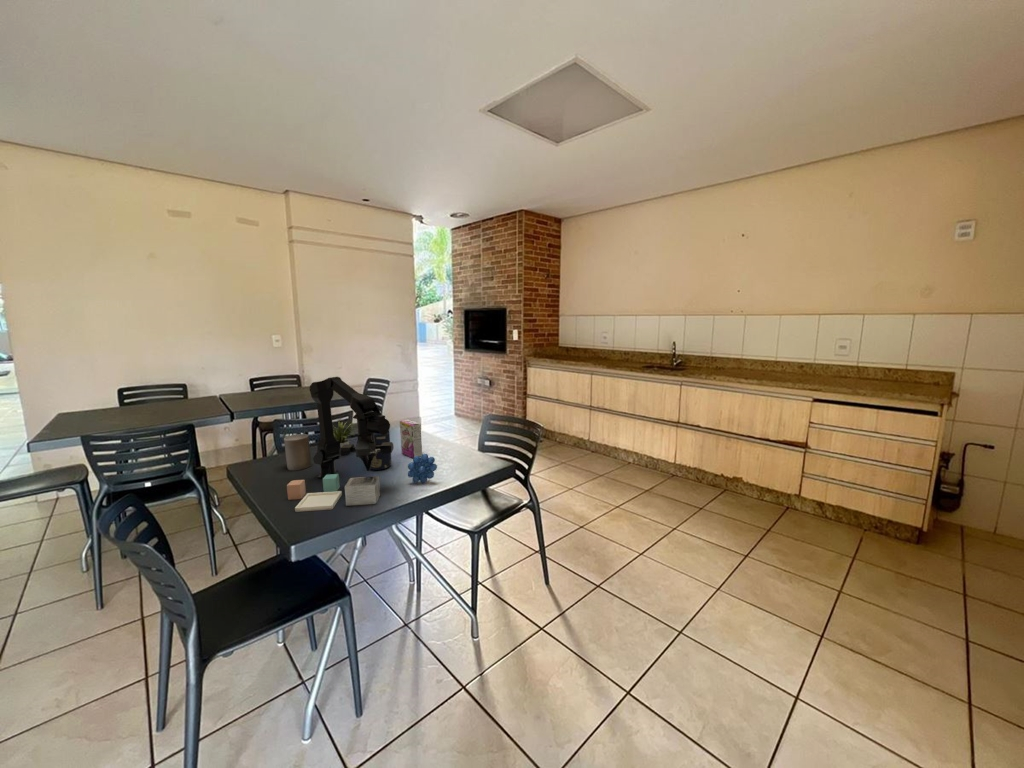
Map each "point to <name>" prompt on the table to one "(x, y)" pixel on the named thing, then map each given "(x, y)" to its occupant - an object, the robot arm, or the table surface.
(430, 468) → the blue knobby flower
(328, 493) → the tray
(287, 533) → the table surface
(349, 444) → the robot arm
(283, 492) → the table surface
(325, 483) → the teal block
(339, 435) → the house plant
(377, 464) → the canister
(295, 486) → the terracotta block
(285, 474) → the table surface
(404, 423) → the candy bar box
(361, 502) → the box
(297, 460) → the pillar candle
